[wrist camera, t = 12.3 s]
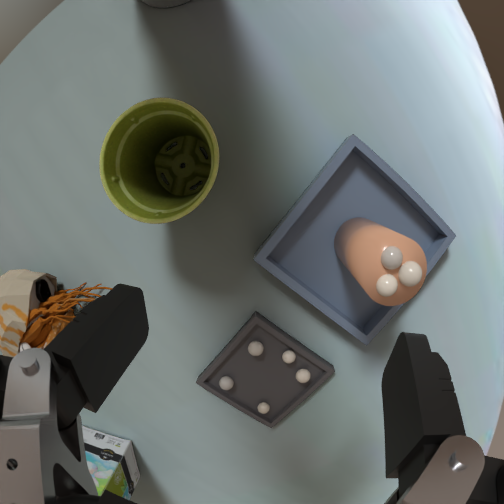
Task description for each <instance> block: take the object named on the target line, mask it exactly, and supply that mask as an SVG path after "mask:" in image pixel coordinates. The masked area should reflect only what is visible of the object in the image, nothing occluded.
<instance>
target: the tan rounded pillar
mask: <svg viewBox="0 0 504 504" xmlns="http://www.w3.org/2000/svg"><path fill="white" fill-rule="evenodd" d="M334 249H335V253H336V255H337V257H338V258H339V260H340V261H341V262H342V263H343V264H344V266H345V267H346V268H347V269H348V270H349V272H350V273H351V274H352V275H353V277H354V278H355V279H356V280H357V282H358V283H359V284H360V285H361V287H362V288H363V289H364V290H365V292H366V293H367V294H368V295H369V297H370V298H371V299H372V300H374V301H375V302H377V303H379V304H381V305H385V306H396V305H400V304H403V303H405V302H407V301H408V300H410V299H411V298H412V297H414V296H415V295H416V294H417V292H418V291H419V290H420V288H421V287H422V285H423V283H424V280H425V277H426V273H427V261H426V257H425V254H424V252H423V250H422V248H421V247H420V246H419V244H418V243H416V242H415V241H414V240H412V239H410V238H408V237H406V236H404V235H402V234H400V233H397V232H395V231H393V230H391V229H389V228H387V227H384V226H382V225H380V224H378V223H376V222H373V221H371V220H369V219H367V218H362V217H356V218H352V219H349V220H347V221H346V222H344V223H343V224H342V225H341V226H340V227H339V229H338V231H337V232H336V235H335V238H334Z"/></svg>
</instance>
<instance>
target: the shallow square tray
mask: <svg viewBox="0 0 504 504" xmlns="http://www.w3.org/2000/svg"><path fill="white" fill-rule="evenodd" d="M356 217H362V218H367V219H369V220H371V221H373V222H376V223H378V224H380V225H382V226H384V227H387V228H389V229H391V230H393V231H395V232H397V233H400V234H402V235H404V236H406V237H408V238H410V239H412V240H414V241H415V242H416V243H418V244H419V246H420V247H421V248H422V250H423V252H424V254H425V257H426V261H427V273H426V276H427V275H428V273H429V272H430V271H431V269H432V268H433V267H434V266H435V264H436V263H437V262H438V260H439V259H440V258H441V256H442V255H443V253H444V252H445V251H446V249H447V248H448V247H449V245H450V244H451V242H452V241H453V240H454V238H455V237H456V235H455V233H454V232H453V231H452V230H451V229H450V228H449V227H448V225H447V224H446V223H445V222H444V221H443V220H442V219H441V218H440V217H439V215H438V214H437V213H436V212H435V211H434V210H433V209H432V208H431V207H430V206H429V205H428V204H427V203H426V202H425V200H424V199H423V198H422V197H421V196H420V195H419V194H418V193H417V192H416V191H415V190H414V189H413V188H412V187H411V186H410V185H409V184H408V183H407V182H406V181H405V180H404V179H403V178H402V177H401V176H400V175H399V174H397V173H396V172H395V171H394V170H393V169H392V168H391V167H390V166H389V165H388V164H387V163H386V162H385V161H384V160H383V159H381V158H380V157H379V156H378V155H377V154H376V153H375V152H374V151H373V150H371V149H370V148H369V147H368V146H367V145H366V144H365V143H363V142H362V141H361V140H360V139H359V138H358V137H356V136H355V135H354V134H352V135H351V136H349V137H347V138H346V139H345V141H344V142H343V143H342V144H341V146H340V147H339V148H338V150H337V151H336V152H335V153H334V155H333V156H332V157H331V158H330V160H329V161H328V162H327V163H326V165H325V166H324V167H323V169H322V170H321V171H320V172H319V174H318V175H317V176H316V177H315V179H314V180H313V181H312V182H311V184H310V185H309V186H308V187H307V189H306V190H305V191H304V192H303V194H302V195H301V196H300V198H299V199H298V200H297V201H296V203H295V204H294V205H293V206H292V208H291V209H290V210H289V211H288V213H287V214H286V215H285V216H284V218H283V219H282V220H281V221H280V223H279V224H278V225H277V226H276V228H275V229H274V230H273V232H272V233H271V234H270V235H269V237H268V238H267V239H266V240H265V242H264V243H263V244H262V245H261V247H260V248H259V249H258V250H257V252H256V253H255V255H254V259H253V260H254V261H255V262H257V263H258V264H259V265H261V266H262V267H263V268H265V269H266V270H267V271H269V272H270V273H271V274H273V275H274V276H275V277H276V278H278V279H279V280H280V281H282V282H283V283H284V284H286V285H287V286H288V287H290V288H291V289H292V290H294V291H295V292H296V293H298V294H299V295H300V296H302V297H303V298H304V299H305V300H307V301H308V302H309V303H311V304H312V305H313V306H315V307H316V308H317V309H319V310H320V311H321V312H323V313H324V314H325V315H327V316H328V317H329V318H331V319H332V320H333V321H335V322H336V323H337V324H338V325H340V326H341V327H342V328H344V329H345V330H346V331H348V332H349V333H350V334H352V335H353V336H354V337H356V338H357V339H358V340H360V341H361V342H362V343H364V344H365V345H366V346H367V345H368V343H369V342H370V341H371V340H372V339H373V338H374V337H375V336H376V335H377V334H378V333H379V332H380V330H381V329H382V328H383V327H384V326H385V325H386V324H387V323H388V322H389V320H390V319H391V318H392V317H393V316H394V315H395V314H396V312H397V311H398V310H399V309H400V308H401V307H402V305H403V304H404V303H403V304H400V305H396V306H385V305H381V304H379V303H377V302H375V301H374V300H372V299H371V298H370V297H369V295H368V294H367V293H366V292H365V290H364V289H363V288H362V287H361V285H360V284H359V283H358V282H357V280H356V279H355V278H354V277H353V275H352V274H351V273H350V272H349V270H348V269H347V268H346V267H345V266H344V264H343V263H342V262H341V261H340V260H339V258H338V257H337V255H336V253H335V249H334V238H335V235H336V232H337V231H338V229H339V227H340V226H341V225H342V224H343V223H344V222H346V221H347V220H349V219H352V218H356Z"/></svg>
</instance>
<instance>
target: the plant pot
mask: <svg viewBox="0 0 504 504" xmlns="http://www.w3.org/2000/svg"><path fill="white" fill-rule="evenodd" d="M173 143H178V145H176V146H174V147H172V148H171V149H170V150H168V151H166V150H167V148H168V147H169V146H170V145H171V144H173ZM199 147H202V148H204V149H205V151H206V153H207V155H208V158H207V159H205V157H204V155H203V153H202V151H201V150H200V149H199ZM182 163H185V167H184V168H181V166H180V165H181V164H182ZM218 168H219V147H218V142H217V138H216V136H215V133H214V131H213V129H212V127H211V125H210V124H209V122H208V121H207V119H206V118H205V117H204V116H203V115H202V114H201V113H200V112H199V111H198V110H196V109H195V108H194V107H192V106H191V105H189V104H187V103H185V102H182V101H180V100H176V99H171V98H153V99H149V100H145V101H142V102H140V103H137V104H135V105H133V106H132V107H130V108H129V109H128V110H126V111H125V112H124V113H123V114H121V115H120V116H119V117H118V118H117V119H116V121H115V122H114V123H113V125H112V126H111V128H110V129H109V131H108V133H107V135H106V137H105V139H104V142H103V145H102V149H101V153H100V176H101V180H102V184H103V187H104V189H105V192H106V194H107V195H108V197H109V198H110V200H111V201H112V203H113V204H114V205H115V206H116V207H117V208H118V209H119V210H120V211H121V212H123V213H124V214H126V215H127V216H129V217H130V218H132V219H135V220H137V221H140V222H144V223H151V224H161V223H167V222H171V221H174V220H177V219H180V218H182V217H184V216H185V215H187V214H189V213H190V212H191V211H193V210H194V209H195V208H196V207H198V206H199V205H200V204H201V202H202V201H203V200H204V199H205V198H206V196H207V195H208V193H209V192H210V190H211V188H212V186H213V184H214V182H215V179H216V176H217V172H218ZM161 173H164V176H165V178H166V179H167V181H168V183H169V184H166V183H165V182H164V181H163V180H162V177H161ZM199 181H202V183H201V184H200V185H199V186H197V188H196V189H193V190H191V189H190V187H191V186H193V185H195V184H197V183H198V182H199Z"/></svg>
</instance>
